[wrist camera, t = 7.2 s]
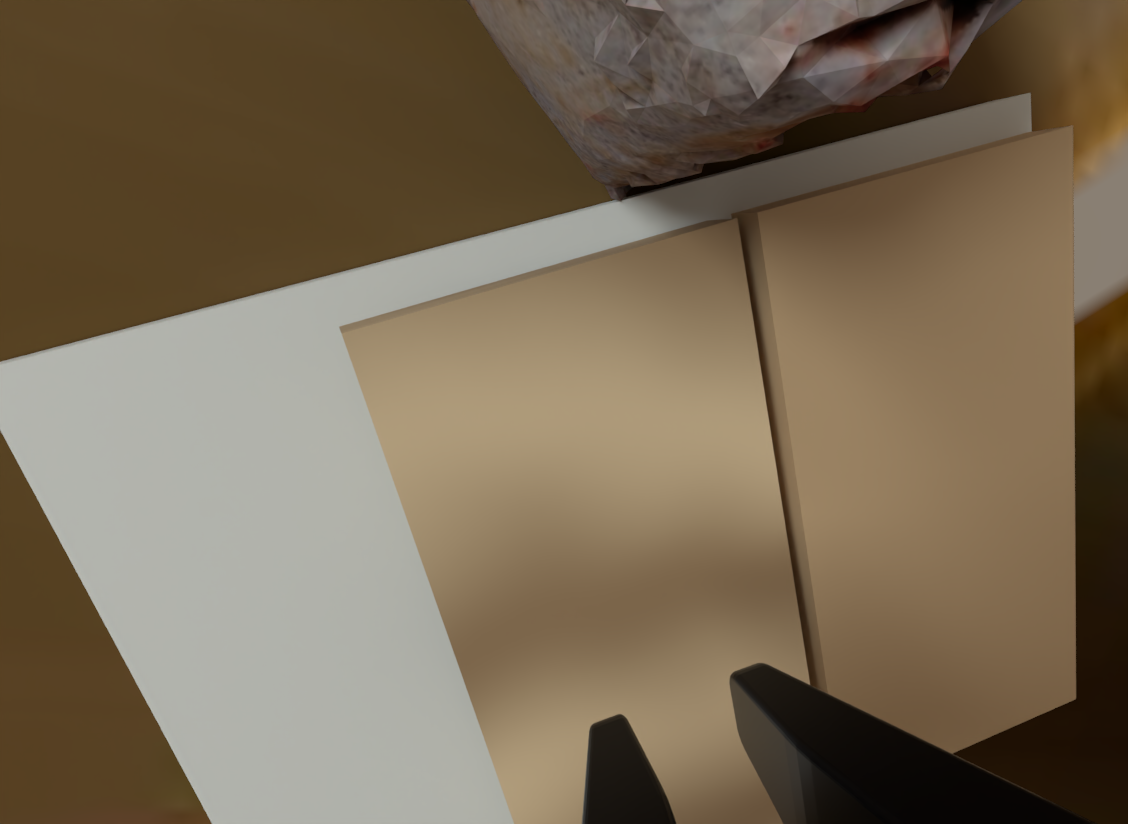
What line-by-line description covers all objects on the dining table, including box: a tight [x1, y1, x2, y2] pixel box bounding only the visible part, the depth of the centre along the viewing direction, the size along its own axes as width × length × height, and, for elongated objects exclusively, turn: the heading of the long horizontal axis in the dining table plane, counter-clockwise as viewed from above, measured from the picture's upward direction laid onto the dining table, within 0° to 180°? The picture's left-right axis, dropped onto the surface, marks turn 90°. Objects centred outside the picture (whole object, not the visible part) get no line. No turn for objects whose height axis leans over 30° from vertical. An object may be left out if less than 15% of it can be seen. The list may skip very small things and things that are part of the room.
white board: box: [0, 93, 1076, 824], centre depth 15 cm, size 16×20×2 cm
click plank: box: [339, 218, 810, 824], centre depth 14 cm, size 14×7×1 cm, turn 14°
